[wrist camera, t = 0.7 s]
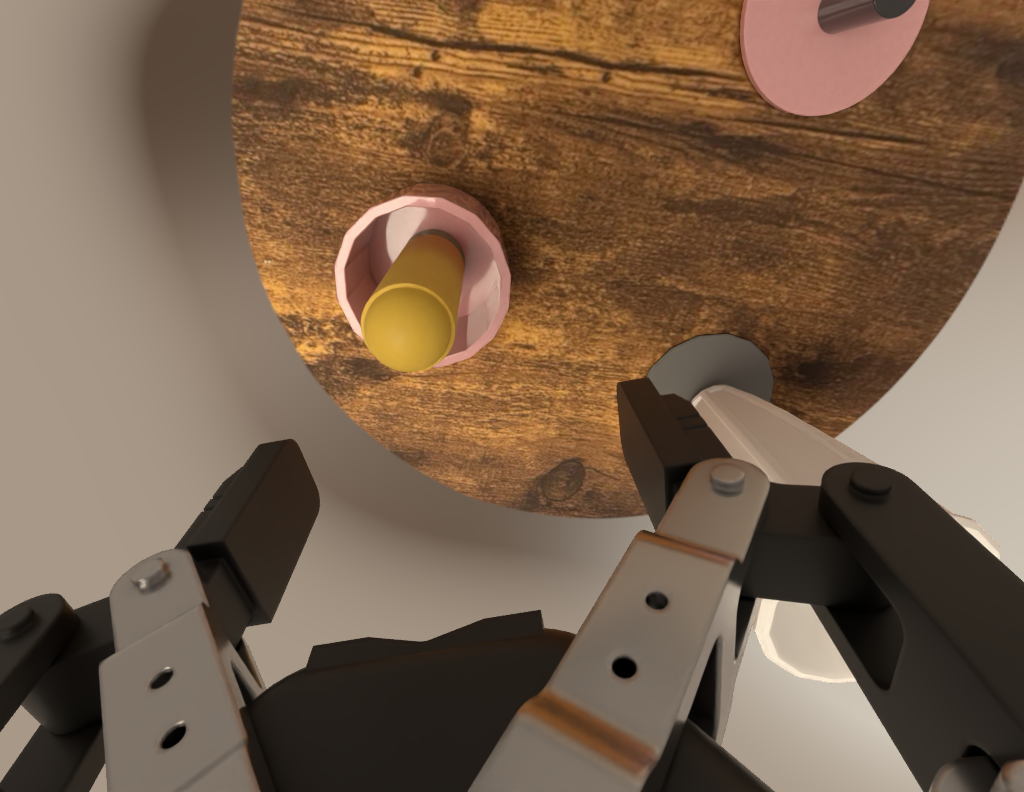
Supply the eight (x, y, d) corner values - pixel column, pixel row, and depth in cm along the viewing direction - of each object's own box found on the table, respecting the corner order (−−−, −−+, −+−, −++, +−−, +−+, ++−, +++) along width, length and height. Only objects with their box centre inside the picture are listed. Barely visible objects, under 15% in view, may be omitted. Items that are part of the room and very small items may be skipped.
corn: (392, 241, 36) (331, 315, 21) (451, 220, 35) (429, 281, 21) (417, 299, 38) (377, 402, 23) (474, 280, 37) (467, 373, 23)
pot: (336, 213, 35) (302, 232, 28) (476, 160, 34) (474, 168, 27) (398, 344, 40) (381, 387, 33) (523, 301, 39) (531, 337, 32)
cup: (678, 475, 47) (812, 714, 28) (610, 388, 42) (714, 601, 23) (794, 405, 44) (1034, 617, 25) (735, 303, 39) (971, 467, 20)
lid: (724, -63, 29) (779, -107, 24) (923, -142, 28) (1029, -208, 23) (745, 141, 34) (795, 143, 29) (915, 81, 33) (1000, 71, 28)
